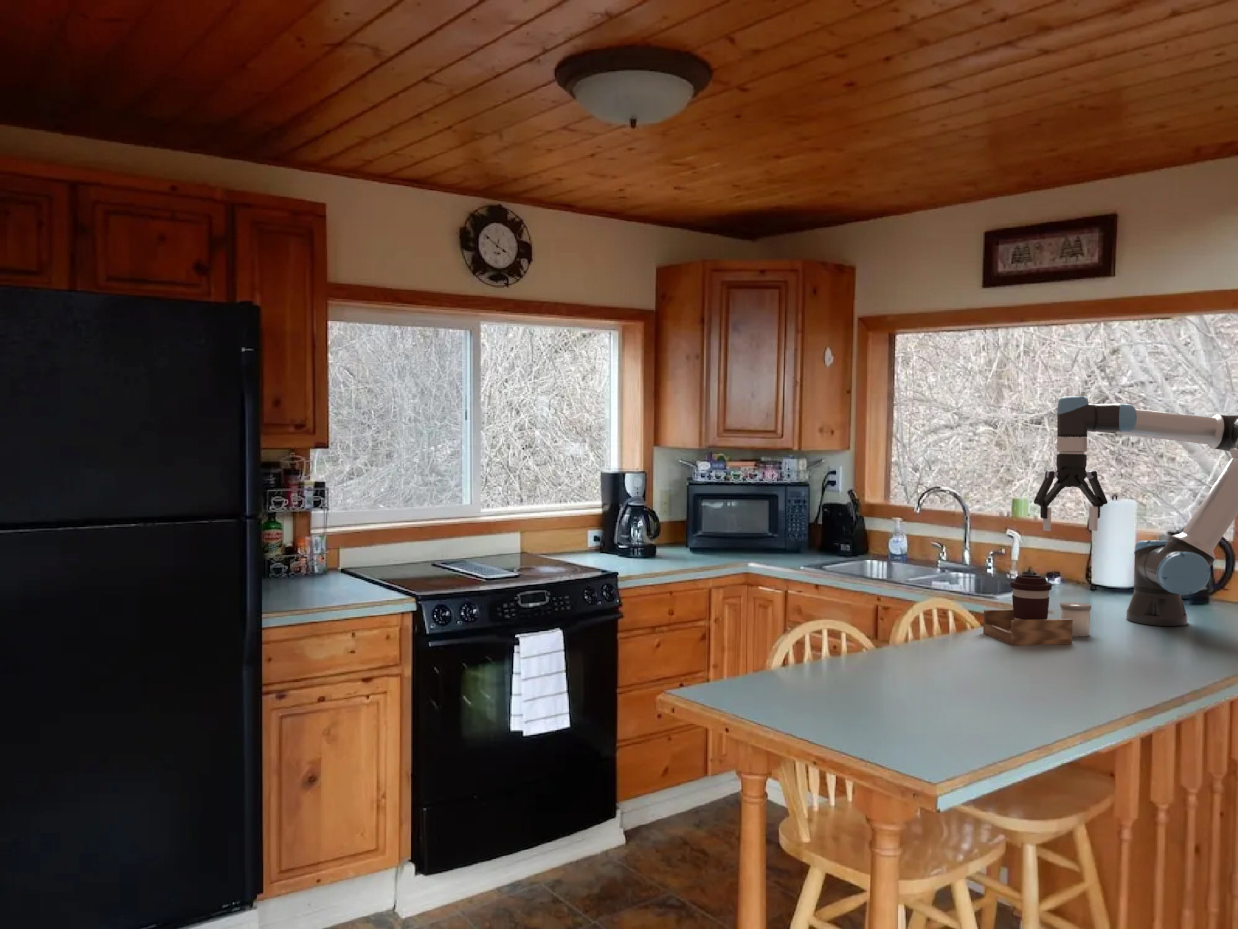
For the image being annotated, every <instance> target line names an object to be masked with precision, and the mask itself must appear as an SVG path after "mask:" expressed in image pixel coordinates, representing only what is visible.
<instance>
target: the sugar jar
mask: <svg viewBox="0 0 1238 929" xmlns="http://www.w3.org/2000/svg"><path fill="white" fill-rule="evenodd" d="M1059 608H1060V619H1072V620H1073V628H1072V637H1078V636H1083V637H1089V636H1090V633H1091V632H1090V627H1091V626H1090V625H1091V624H1090V623H1091V622H1090V620H1091V619H1090V618H1091V610H1092V605H1091V604H1088V603H1083V602H1074V601H1071V602H1070V601H1065V602H1060V603H1059Z"/></svg>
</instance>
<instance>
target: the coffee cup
mask: <svg viewBox="0 0 1238 929" xmlns="http://www.w3.org/2000/svg"><path fill="white" fill-rule="evenodd" d="M1046 578H1047V577H1045V576H1042V575H1036V574H1035V575H1034V574H1017V576H1016V578H1015V580H1010V582H1009V583H1010V586H1009V587H1010V588H1011V589H1012V595H1011V598H1012V609H1013V616H1014V620H1039V619H1048V618H1049V606H1050V597H1049V596H1050V591H1051V590H1052V586H1053V585H1052V583H1051V582H1049V581H1047V579H1046Z"/></svg>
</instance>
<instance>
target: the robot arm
mask: <svg viewBox="0 0 1238 929" xmlns="http://www.w3.org/2000/svg"><path fill="white" fill-rule="evenodd" d="M1056 418H1057V419H1056V421H1057V423H1056V424H1057V426H1056V429H1057V430H1056V433H1057V435H1056V452H1058V453H1057V454H1056V459H1055V460H1056V463H1055V464H1056V471H1054V470H1046V471H1044V472H1045V473H1044V478H1043V481H1042V483H1041V485H1040V487H1039V489H1038V491H1037V494H1036V495H1035V498H1034V499H1033V504H1035V505H1038V507H1040V511H1039V512H1040V519H1042V531H1046V532H1051V531H1052V506H1050V505H1051V503H1052V502H1053V501H1054V500H1055V498H1056V497H1057V496H1058V495H1059V494H1060V492H1061V491H1063V489H1065V488H1072V487H1073V488H1078V489H1080V491H1081V492H1082V494H1083V495H1084V496H1085V497H1086V499H1087V500H1088V501H1089V503H1090V504H1091V505H1092V506H1091V505H1089V507H1088V508H1089V511H1088V530H1089V531H1094V532H1096V531H1098V525H1099V522H1098V519H1100V518H1101V507H1103V506H1104V505H1107V504H1109V503H1108V499H1107V497H1106V495H1105V492H1104V490H1103V488H1102V486H1101V484H1100V481H1099V479H1098V478H1099V477H1098V471H1096V470H1088V471H1087V470H1086V468H1087V466H1088V464H1087V462H1088V456H1087V454H1086V452H1088V432H1091V433H1106V434H1118V435H1124V436H1125V435H1126V436H1133V437H1141V438H1150V439H1151V438H1152V439H1159V440H1166V441H1167V440H1168V441H1175V442H1176V441H1177V442H1184V443H1193V444H1202V445H1207V446H1208V448H1210V449H1213V450H1214V449H1215V450H1220V451H1226V452H1229V453H1230V456H1231V458H1230V460H1229V461H1228V463H1227V465H1225V468H1224V469H1223V471H1222V472H1221V474H1220V475H1219V476H1218V478H1217V479H1216V481H1215V483H1214V484H1213V485H1212V487H1211V488H1210V490H1209V491H1208V493H1207V494H1206V496H1204V498H1203V500H1202V501H1201V504H1200V505H1199V506H1198V507H1197V509H1196V511H1195V512H1194V514H1193V515H1192V516H1191V518H1190V519H1189V521H1188V522H1187V524H1186V525H1185V527H1184V528H1183V530H1182V531H1181V532H1180V533H1176V534H1173V535H1171V536H1170V538H1169V539H1168V540H1138V541H1137V542H1136V543H1135V545H1134V551H1133V553H1134V566H1133V567H1134V568H1133V569H1134V572H1133V573H1134V575H1133V577H1134V578H1133V584H1134V585H1133V593H1132V596H1131V599H1130V602H1129V604H1128V608H1127V609H1126V620H1128V621H1130V622H1133V623H1138V624H1143V625H1150V626H1151V625H1152V626H1161V627H1181V626H1182V627H1183V626H1186V625H1187V624H1188V614H1187V611H1186V608H1185V605H1184V603H1183V599H1182V595H1192V594H1195V593H1198V592H1200V591H1201V590H1203V589H1204V588H1205V587H1206V586H1207V585H1208V582H1209V581H1210V578H1211V566H1212V564H1213V563H1214V561H1215V560H1216V556H1215V555H1216V554H1215V552H1214V550H1215V548H1216V547H1217V545H1219V543H1220V541H1221V539H1222V538H1223V536H1224V535H1225V534H1226V532H1227V530H1228V529H1229V528H1230V526H1231V525H1232V524H1233V522H1234V520H1235V519H1236V517H1237V516H1238V414H1237V415H1236V414H1235V415H1225V414H1224V415H1223V414H1215V415H1214V416H1212V417H1211V416H1199V415H1191V414H1182V413H1175V412H1174V413H1173V412H1164V411H1155V410H1148V409H1147V410H1145V409H1138V408H1136V407H1135V406H1134V405H1133V404H1130V403H1095V404H1094V403H1089V399H1088V397H1087V396H1062V397H1060V398H1059V399H1058V401H1057V412H1056ZM1086 478H1087V479H1088V482H1086ZM1054 479H1057V480H1056V481H1055V480H1054ZM1054 481H1055V483H1054V484H1053V482H1054ZM1088 483H1089V484H1088ZM1052 485H1053V486H1052ZM1089 485H1090V486H1089ZM1090 487H1091V488H1090Z"/></svg>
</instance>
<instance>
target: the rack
mask: <svg viewBox="0 0 1238 929" xmlns="http://www.w3.org/2000/svg"><path fill="white" fill-rule="evenodd" d="M982 624H983V625H982V626H983V627H982V628H983V629H982V631H983V634H986V635H988V636H990V637H992V638H995V639H997V638H998V639H997V640H999V639H1000V640H999V641H1001V640H1002V642H1004V643H1006V644H1009V645H1011V644H1012V645H1011V646H1035V645H1036V646H1037V645H1039V646H1040V645H1042V646H1043V645H1072V644H1073V636H1072V628H1073V620H1072V619H1061V618H1049V619H1048V618H1047V619H1039V620H1014V616H1013V608H1011V609H1009V608H1008V609H1006V608H1005V609H983V623H982Z"/></svg>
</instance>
